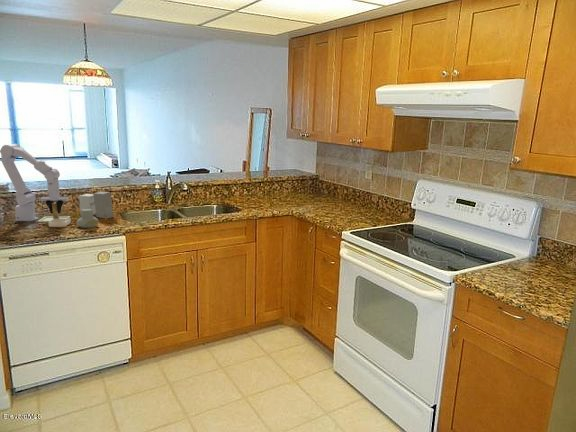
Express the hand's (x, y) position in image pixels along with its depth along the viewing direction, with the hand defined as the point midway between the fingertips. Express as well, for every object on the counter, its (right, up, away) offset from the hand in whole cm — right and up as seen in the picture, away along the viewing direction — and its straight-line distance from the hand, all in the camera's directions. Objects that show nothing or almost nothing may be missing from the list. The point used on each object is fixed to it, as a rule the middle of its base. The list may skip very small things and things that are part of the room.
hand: (55, 213), depth 249 cm
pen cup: (+8, -7, -10) cm, 14 cm away
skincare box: (+23, -3, +12) cm, 26 cm away
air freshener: (+24, -8, -11) cm, 28 cm away
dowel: (0, -3, +1) cm, 3 cm away
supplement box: (+11, -1, +18) cm, 21 cm away
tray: (-1, -4, +1) cm, 5 cm away
